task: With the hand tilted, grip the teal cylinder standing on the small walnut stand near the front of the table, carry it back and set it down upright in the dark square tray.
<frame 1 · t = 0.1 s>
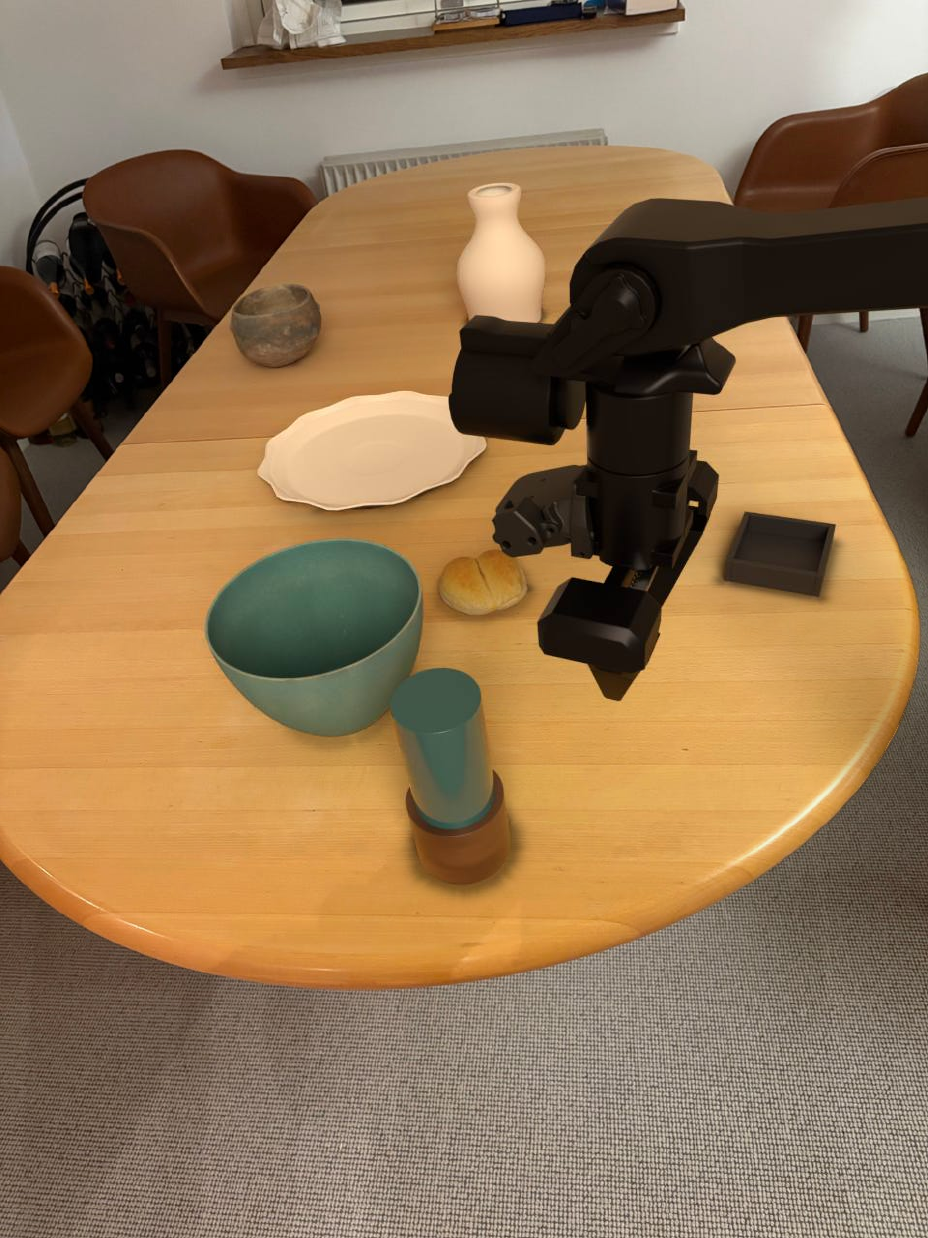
hand: (633, 651, 60), 15 cm above the table, tool pointing down, fingers open, 9 cm apart
teal cylinder: (454, 795, 64), point 6 cm above the table, touching stand
plate: (376, 461, 115), on the table
vase: (505, 320, 146), on the table
dark square tray: (779, 562, 89), on the table
bowl: (286, 360, 144), on the table
plant pot: (343, 705, 81), on the table
bread roll: (485, 593, 91), on the table
stand: (464, 844, 68), on the table
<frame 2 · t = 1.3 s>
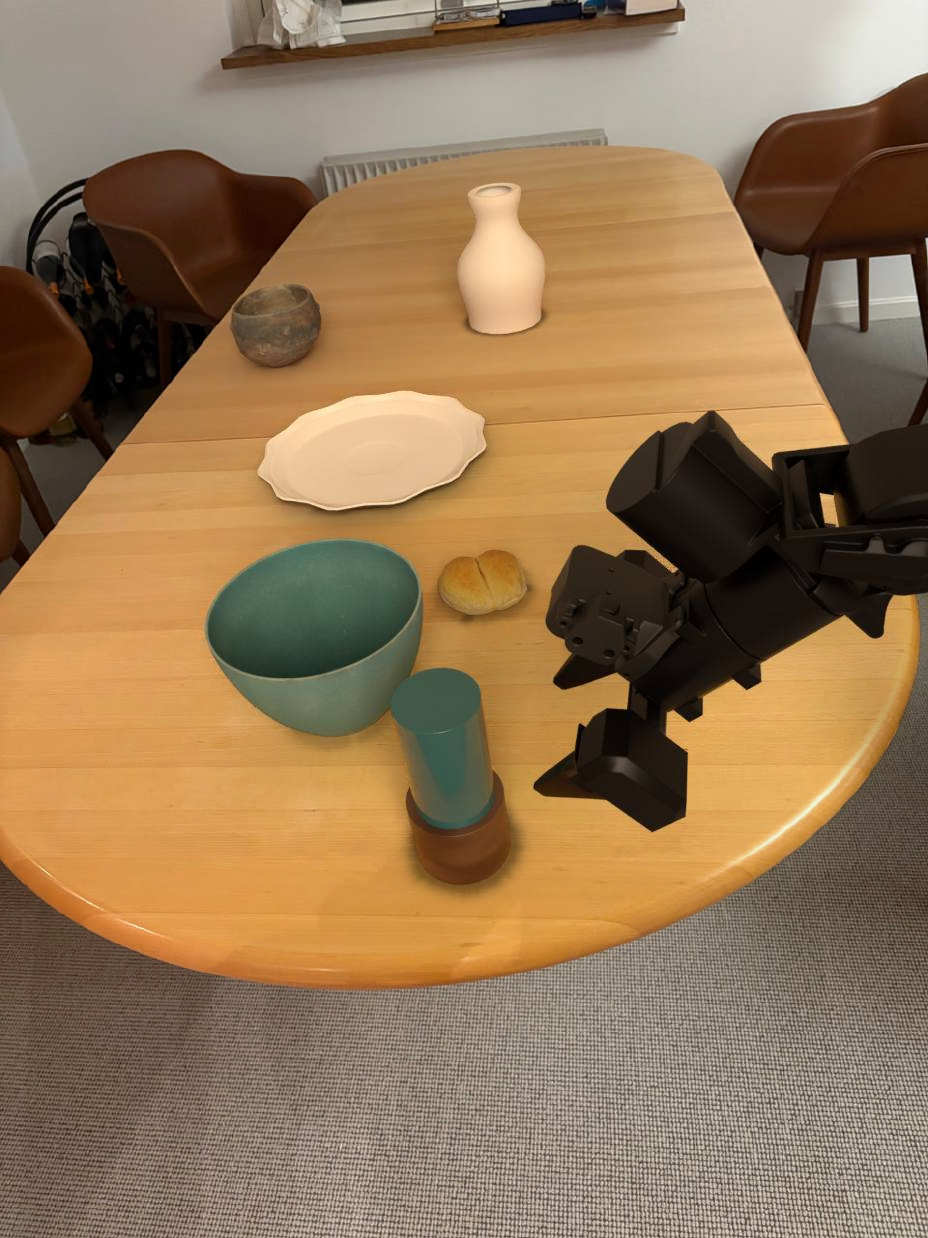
hand: (548, 734, 57), 13 cm above the table, tool tilted 45°, fingers open, 9 cm apart
nothing on the table moved.
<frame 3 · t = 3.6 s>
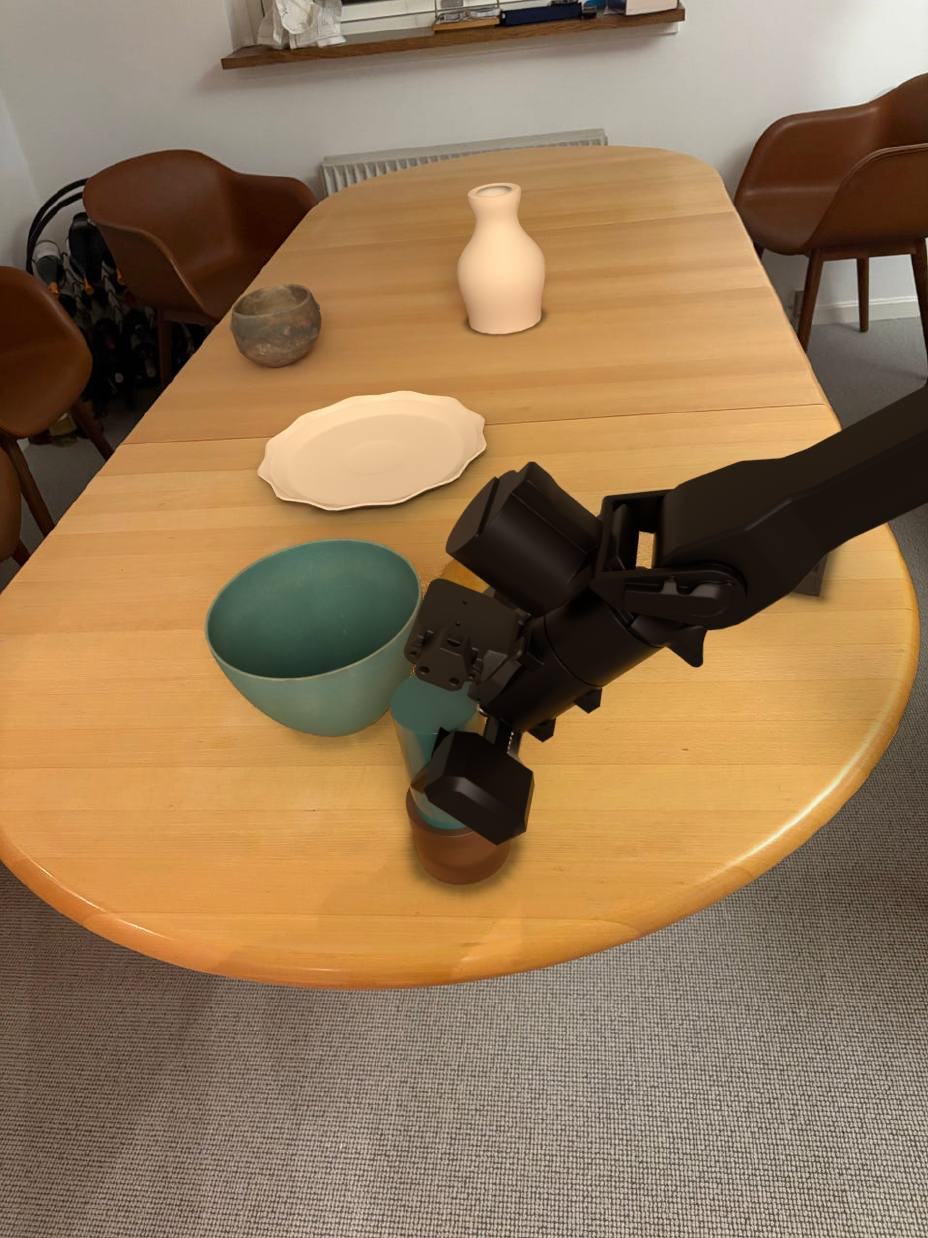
hand: (427, 751, 61), 11 cm above the table, tool tilted 45°, fingers closed on teal cylinder, 6 cm apart
teal cylinder: (454, 795, 64), point 6 cm above the table, touching gripper, stand
everything else where it was.
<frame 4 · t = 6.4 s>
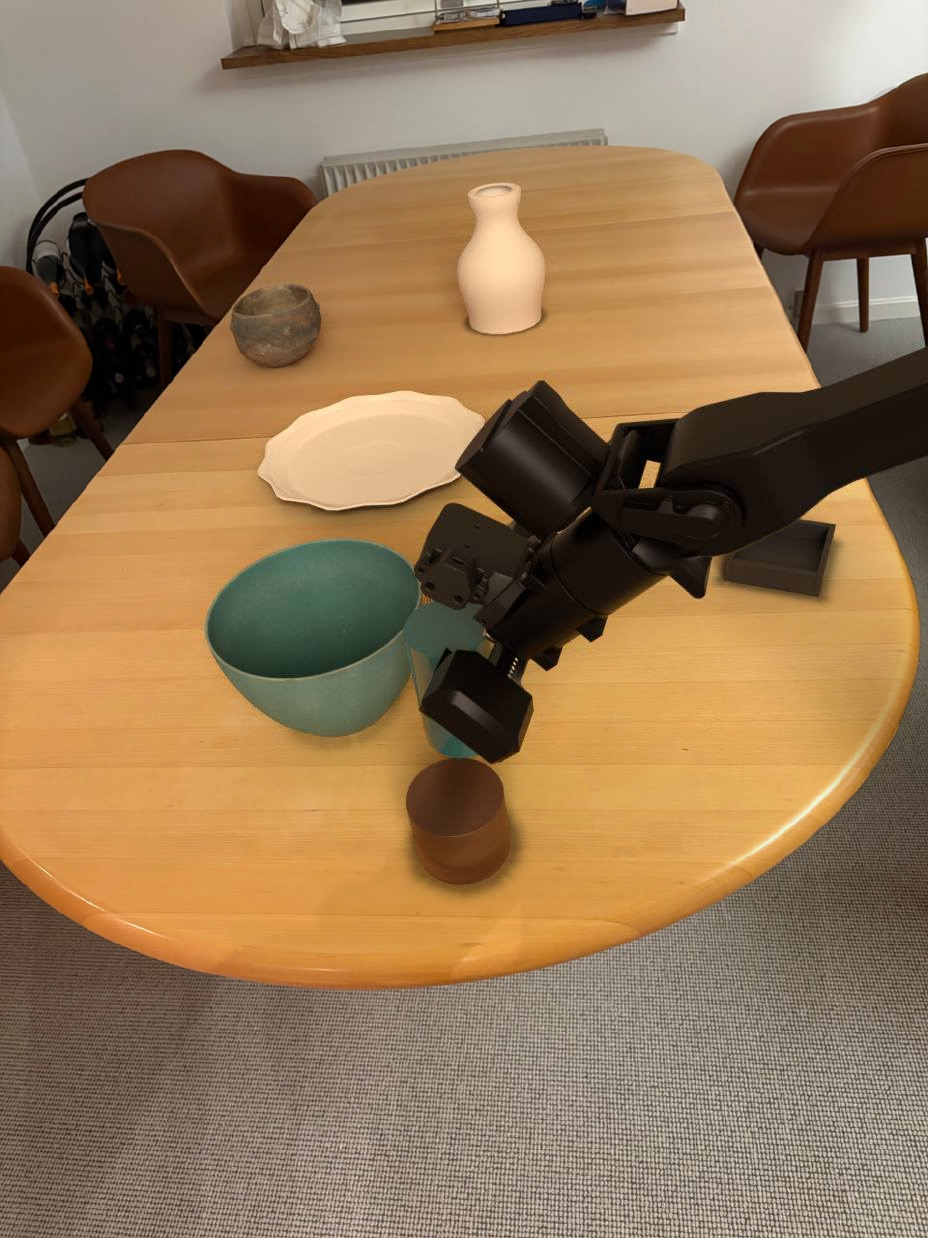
hand: (439, 680, 63), 13 cm above the table, tool tilted 45°, fingers closed on teal cylinder, 6 cm apart
teal cylinder: (465, 727, 65), point 9 cm above the table, touching gripper
everything else where it was.
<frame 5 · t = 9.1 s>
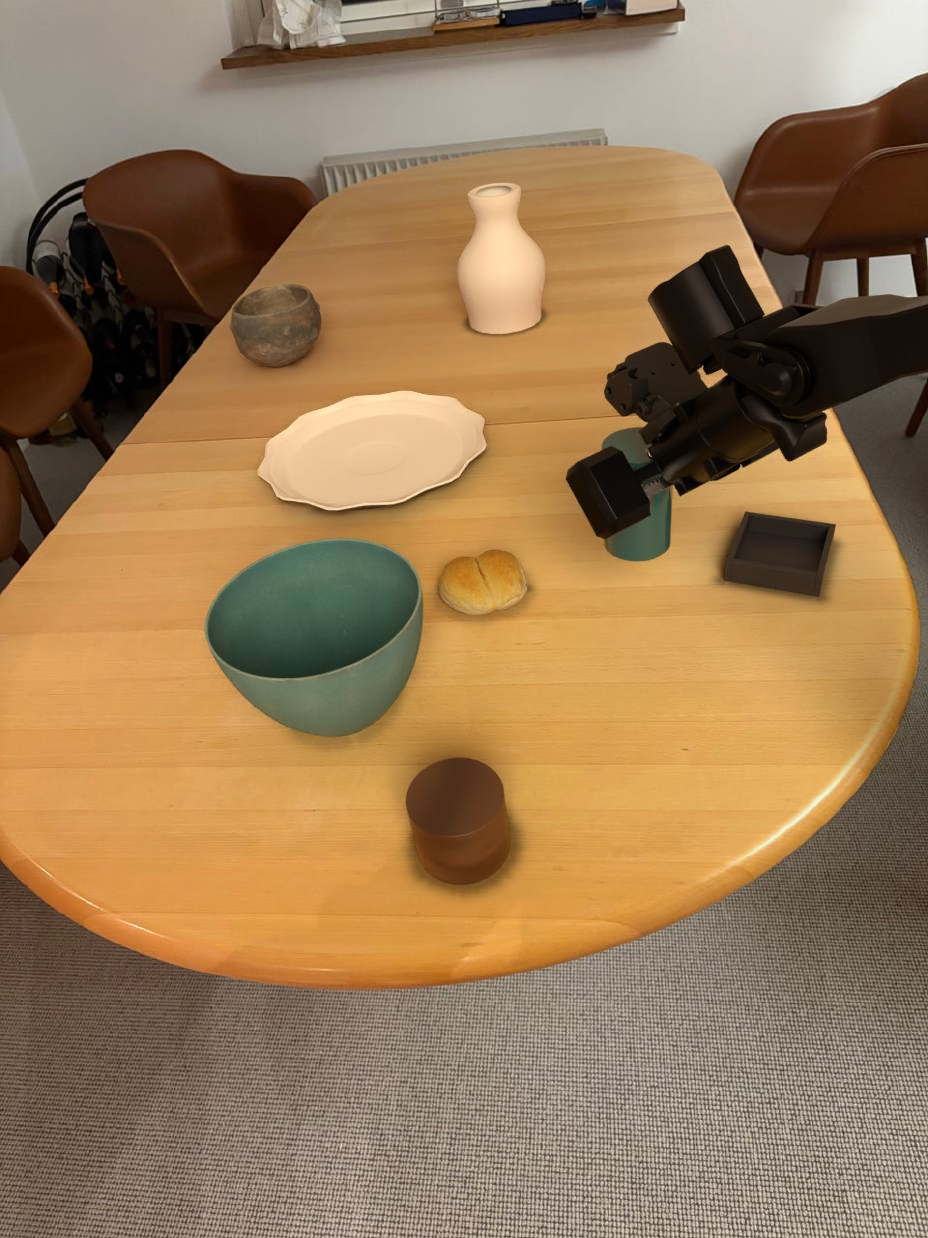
hand: (627, 492, 78), 13 cm above the table, tool tilted 45°, fingers closed on teal cylinder, 6 cm apart
teal cylinder: (637, 541, 80), point 9 cm above the table, touching gripper
everything else where it was.
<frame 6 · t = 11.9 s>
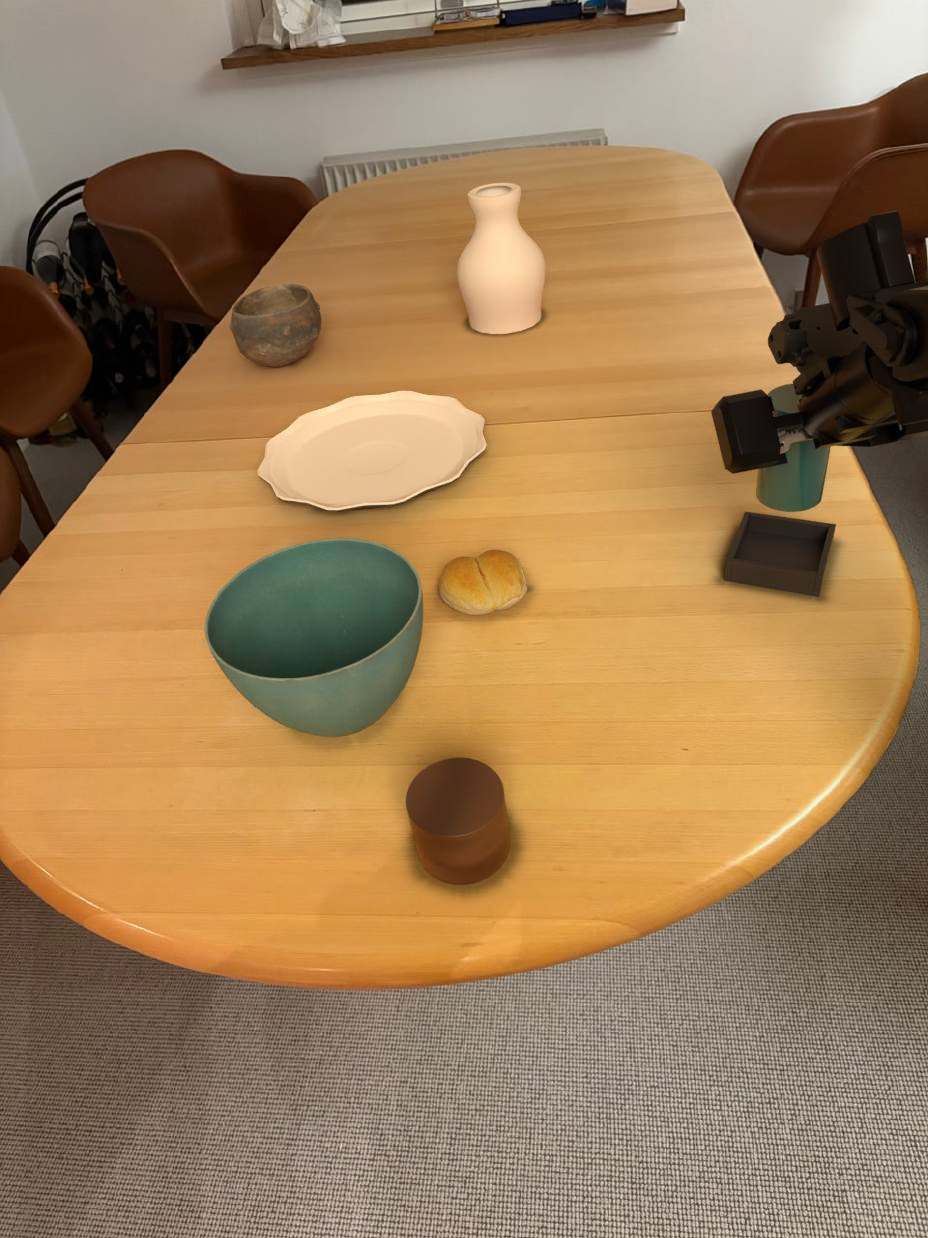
hand: (788, 445, 82), 13 cm above the table, tool tilted 45°, fingers closed on teal cylinder, 6 cm apart
teal cylinder: (788, 494, 84), point 8 cm above the table, touching gripper
everything else where it was.
when the fingers open (5 cm above the table, at t = 14.5 s): teal cylinder stays where it is, resting on dark square tray.
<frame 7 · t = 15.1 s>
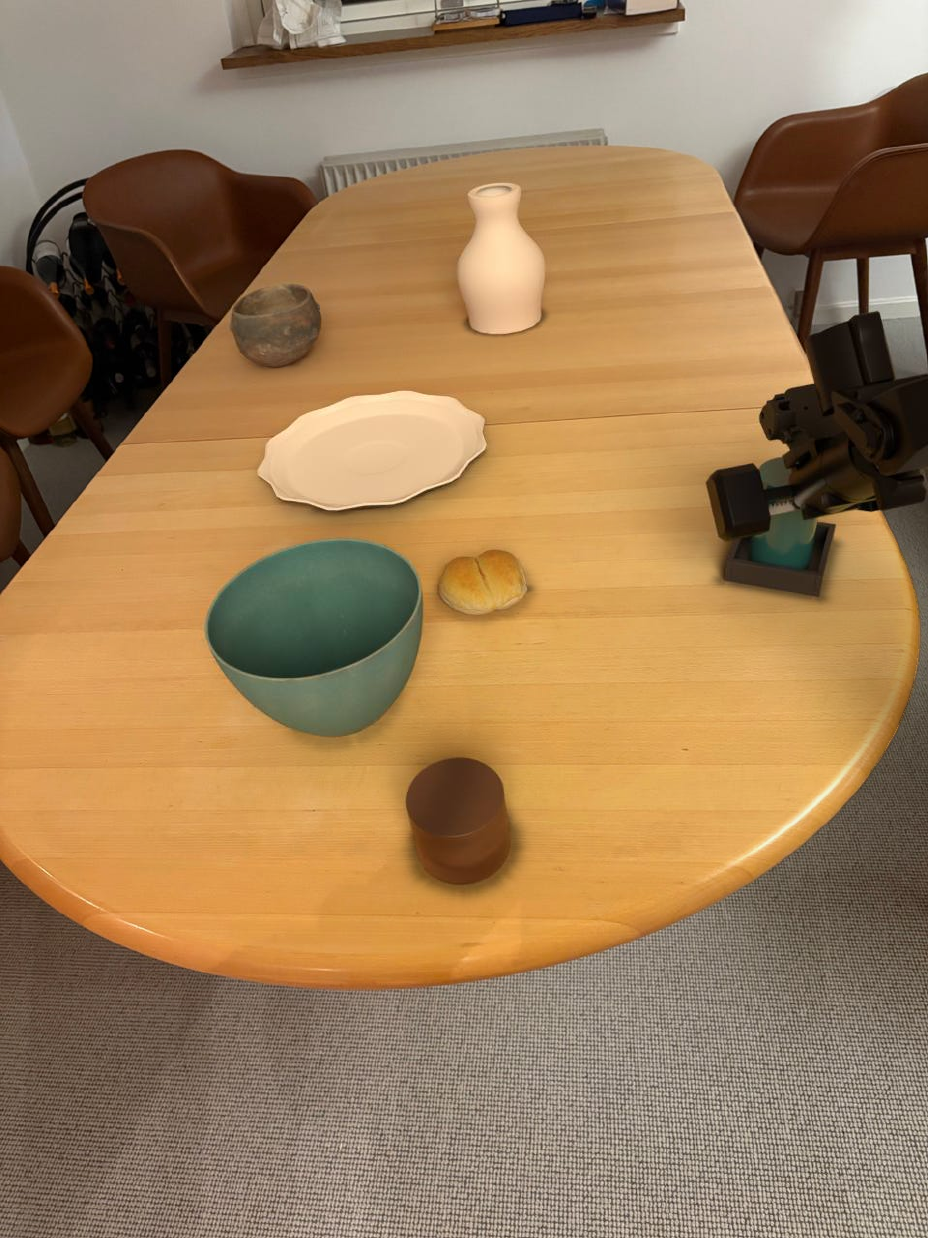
hand: (778, 507, 87), 6 cm above the table, tool tilted 45°, fingers open, 9 cm apart
teal cylinder: (779, 558, 89), resting on dark square tray
everything else where it was.
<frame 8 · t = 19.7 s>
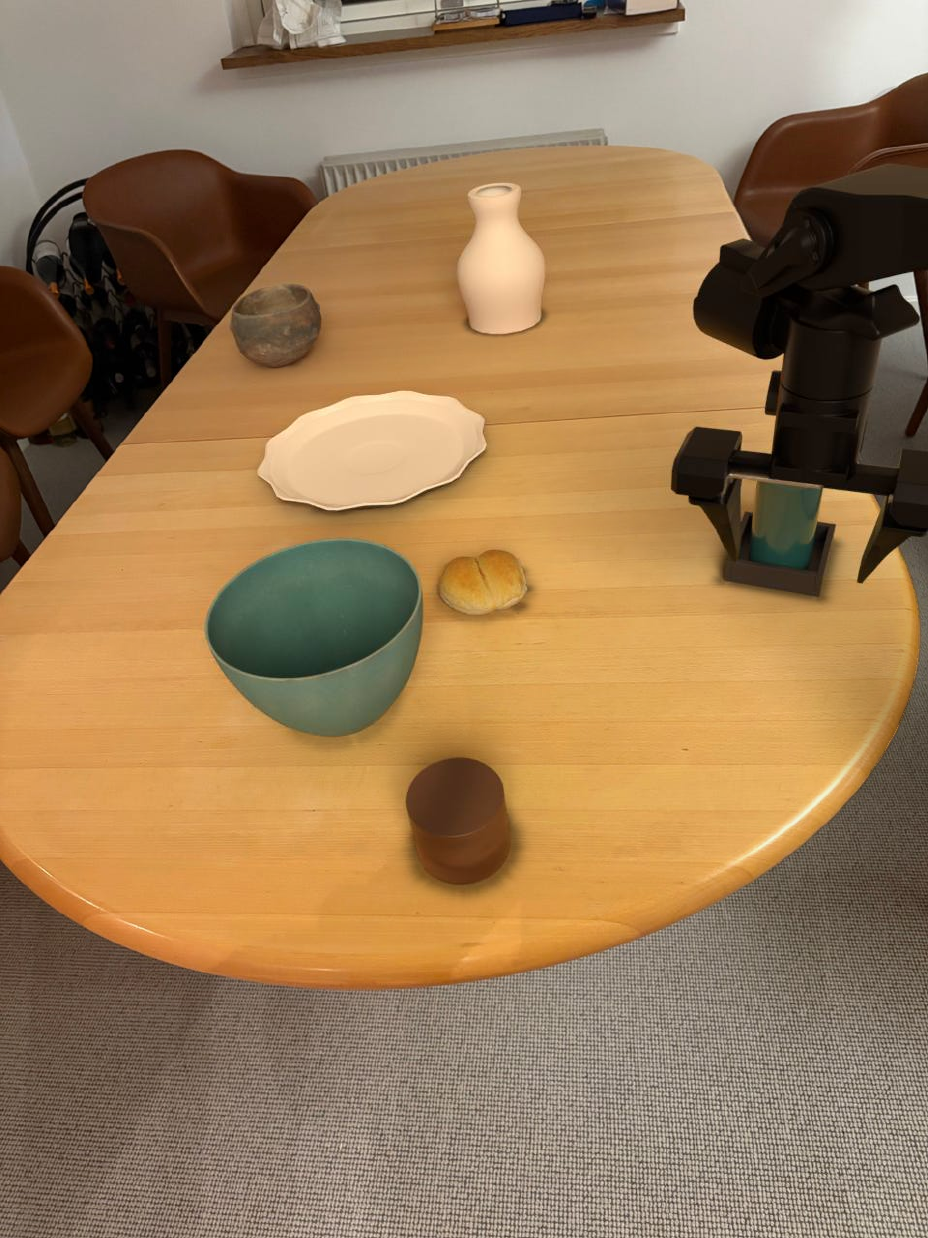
hand: (795, 569, 68), 13 cm above the table, tool pointing down, fingers open, 9 cm apart
nothing on the table moved.
at the end: teal cylinder 0.0 cm off-centre in the dark square tray, point 0.5 cm above the dark square tray's base; teal cylinder tilted 0°; the gripper is holding nothing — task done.
